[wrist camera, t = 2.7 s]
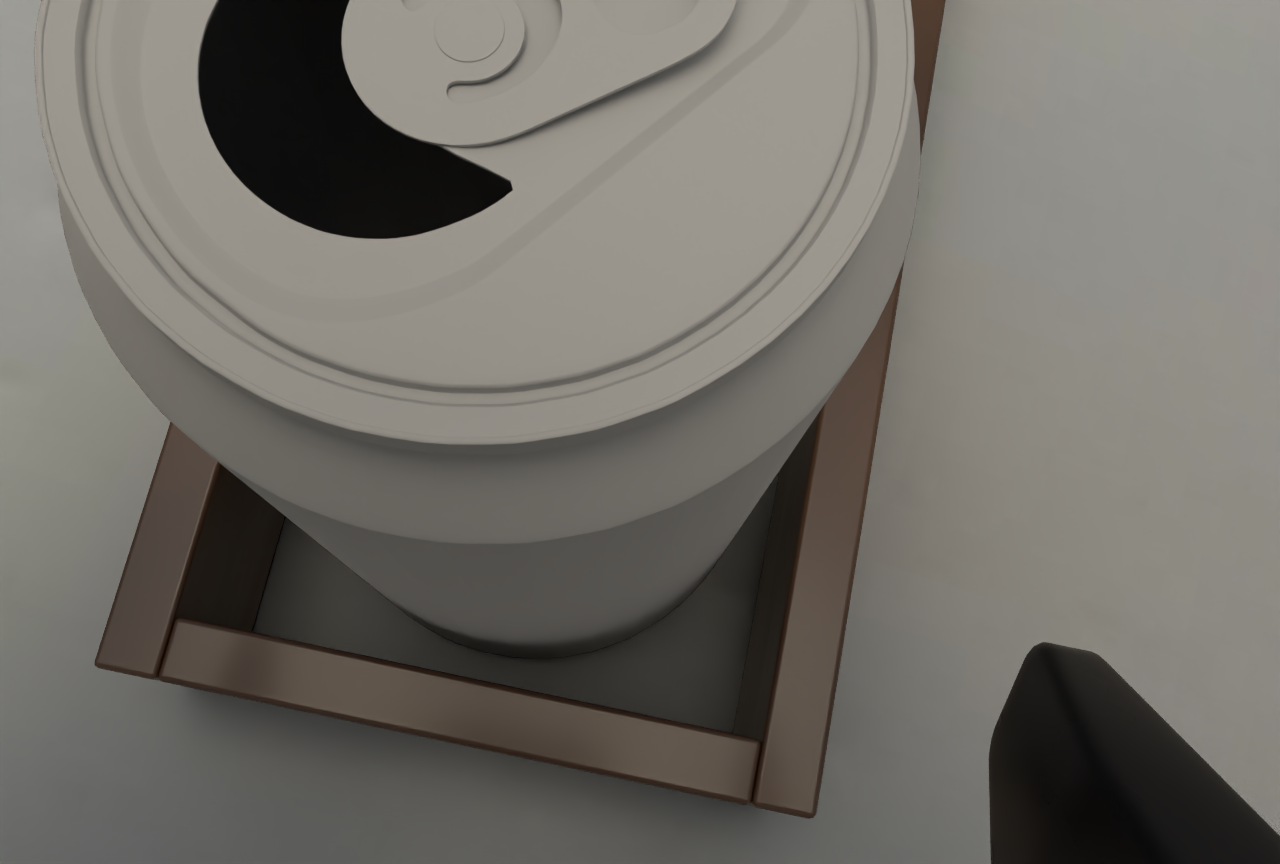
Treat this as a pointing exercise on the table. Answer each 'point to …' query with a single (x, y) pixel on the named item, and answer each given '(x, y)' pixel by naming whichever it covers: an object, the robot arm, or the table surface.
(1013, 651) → the table surface
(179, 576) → the stand
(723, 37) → the beverage can
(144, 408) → the table surface
